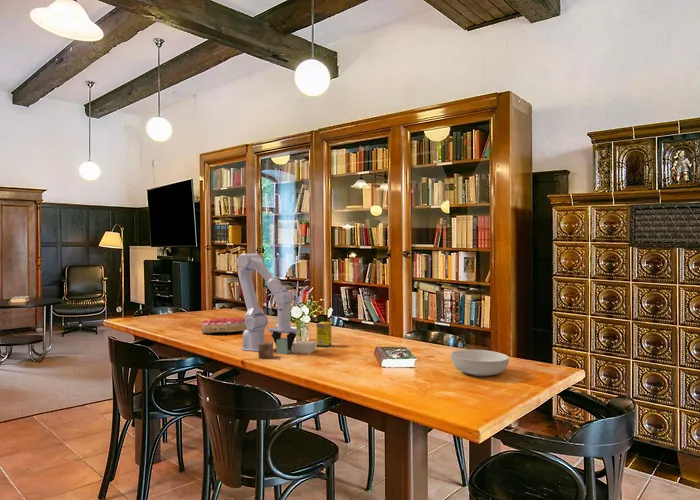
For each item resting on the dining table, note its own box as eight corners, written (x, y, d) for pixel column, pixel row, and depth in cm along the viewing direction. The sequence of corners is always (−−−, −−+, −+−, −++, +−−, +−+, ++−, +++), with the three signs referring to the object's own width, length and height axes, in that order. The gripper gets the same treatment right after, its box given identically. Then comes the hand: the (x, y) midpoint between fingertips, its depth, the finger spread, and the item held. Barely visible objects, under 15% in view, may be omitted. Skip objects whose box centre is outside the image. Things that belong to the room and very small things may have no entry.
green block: (276, 353, 221) (276, 339, 221) (281, 351, 225) (281, 337, 225) (286, 354, 219) (286, 340, 219) (291, 351, 224) (291, 338, 224)
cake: (233, 334, 262) (233, 319, 262) (191, 334, 268) (191, 319, 269) (255, 330, 285) (255, 316, 286) (216, 330, 292) (216, 316, 293)
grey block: (292, 353, 223) (292, 344, 223) (299, 349, 230) (299, 340, 230) (309, 354, 221) (309, 344, 221) (315, 350, 228) (315, 341, 228)
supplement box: (328, 347, 234) (328, 323, 234) (316, 346, 235) (316, 323, 235) (331, 344, 240) (331, 322, 240) (319, 344, 241) (319, 321, 241)
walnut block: (258, 358, 210) (258, 344, 210) (261, 356, 215) (261, 342, 215) (270, 358, 210) (270, 344, 210) (273, 356, 215) (273, 342, 215)
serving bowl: (500, 383, 171) (500, 363, 171) (442, 375, 182) (442, 356, 182) (515, 371, 189) (515, 352, 189) (461, 364, 200) (461, 347, 200)
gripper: (265, 319, 221) (265, 350, 221) (294, 320, 216) (295, 352, 216) (272, 317, 227) (272, 347, 227) (301, 318, 223) (301, 349, 223)
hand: (284, 349), depth 222 cm, fingers closed on green block, 5 cm apart
